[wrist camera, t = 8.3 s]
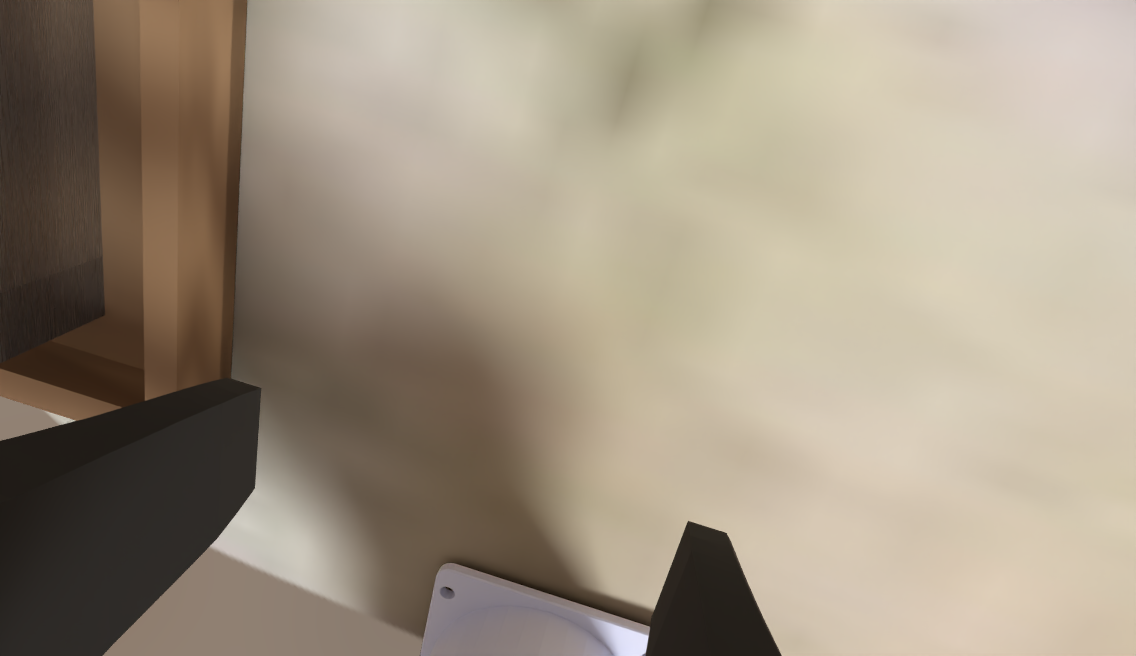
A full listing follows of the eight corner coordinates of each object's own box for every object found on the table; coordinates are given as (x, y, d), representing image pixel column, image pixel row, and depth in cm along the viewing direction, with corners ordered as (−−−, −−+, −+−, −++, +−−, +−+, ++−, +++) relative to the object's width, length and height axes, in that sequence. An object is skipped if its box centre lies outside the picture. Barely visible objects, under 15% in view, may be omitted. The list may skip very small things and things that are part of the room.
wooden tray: (229, 411, 24) (175, 452, 21) (-41, 326, 25) (-121, 357, 22) (258, -249, 17) (181, -297, 14) (-127, -340, 17) (-260, -399, 15)
